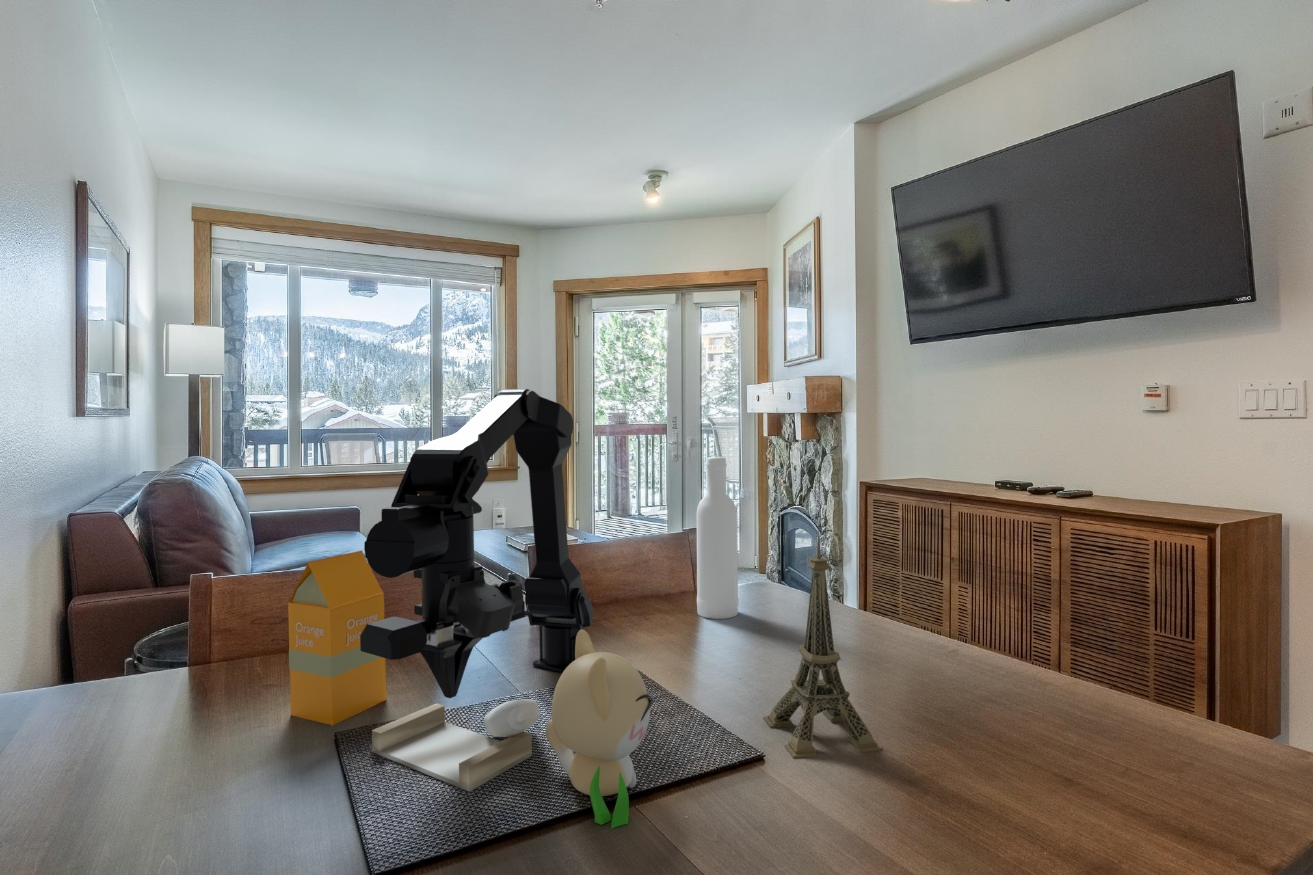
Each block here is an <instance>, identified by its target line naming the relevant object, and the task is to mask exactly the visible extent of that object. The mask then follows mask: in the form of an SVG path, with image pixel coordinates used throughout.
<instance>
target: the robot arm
mask: <svg viewBox="0 0 1313 875" xmlns="http://www.w3.org/2000/svg"><path fill="white" fill-rule="evenodd" d="M573 431H574V418H573V415H572V414H571V413H570V412H569V411H568V410H567V409H566V408H565V407H564V406H563V405H561V403H558V402H556V401H553V400H550V399H549V398H545V397H542V396H540V395H539V394H538V393H537V392H536V391H534V390H531V389H529V388H512V389H511V388H510V389H505V388H504V389H502V390H500V391H497V392H496V393H495V394H494V397H493V399H492V400H491V401H490V402H489V403H487V404H486V406H485V407H484V408H482V409H481V410H480V411H479V412H478V413H477V414H475V416H473V418H471V419H470V420H469V421H468V422H467V423H466V424H465V425H463V426H462V427H461V428H460V429H459V430H458V431H457V432H455V433H453V434H451V435H447V436H443V437H440V438H435V439H434V440H431V441H429V442H427V443H425V444H424V445H422V446H419V447H418V448H417V449H416V450H415V451H414V452H413V453H412V454H411V456H410V459H409V463H408V465H407V467H406V469H405V472H404V474H403V477H402V479H401V481H400V483H399V486H398V487H397V490H396V493H395V495H394V498H393V500H392V502H391V505H390V506H388V507H384V508H382V509H381V512H380V513H381V520H379V521H378V522H377V523H375V524H374V525H373V526H372V527H371V529H370V530H369V531H368V533H367V535H366V540H365V541H364V548H363V550H364V556H365V558H366V560H367V562H368V564H369V566H370V568H371V570H372V571H374V572H375V573H376V574H378V575H379V576H381V577H385V578H390V579H393V578H397V577H401V576H404V575H406V574H409V573H410V574H411V573H412V572H413V578H415V579H420V581H421V582H420V583H421V584H420V585H421V603H417V604H414V605H413V606H414V607H413V608H414V609H413V610H414V613H413V614H414V615H417V616H422V617H421V619H417V620H412V619H408V618H404V617H400V616H391V617H387V618H385V619H383V620H379V621H376V622H372V623H369V624H366V626H365V627H364V629H363V630H362V632H361V635H360V649H361V651H362V652H365V653H369V654H372V655H376V656H379V657H383V658H386V659H387V660H391V661H393V660H402V659H405V658H407V657H410V656H413V655H417V654H419V653H420V654H421V656H422V657H423V659H424V660H425V662H426V663H427V666H428V667H429V669H430V670H431V673H432V675H433V676H434V679H435V681H436V683H437V684H438V686H439V688H440V690H441V692H442V694H443V696H444V698H447V699H452V698H455V697H457V695H458V692H459V688H460V685H461V682H462V679H463V676H464V672H465V671H466V670H465V669H466V667H467V665H468V664H467V663H468V661H469V658H470V656H471V654H472V651H473V649H474V648H475V646H476V645H477V644H478V643H479V642H480V641H481V640H482V639H485V638H489V637H490V636H491V635H493V634H495V633H496V634H497V633H498V632H501V631H502V632H505V631H508V630H509V629H510V625H511V622H514V621H517V620H520V619H523V618H525V617H526V613H527V618H528V622H529V623H528V624H529V625H530V626H532V627H533V626H539V627H538V628H539V633H538V634H539V658H538V659H536V660H534V661H532V666H535V667H539V668H543V669H548V670H551V671H555V672H558V673H563V672H564V670H565V669H566V668H567V667H568V666H569V665H570V664H571V663H572V662H573V661H574V660H575V645H576V636H577V633H578V632H579V631H580V630H584V628H588V627H591V626H592V621H593V617H594V607H593V604H592V602H591V600H590V599H589V597H588V595H587V593H586V592H585V589H584V587H583V584H582V583H583V582H582V581H583V580H582V576H581V573H580V571H579V569H577V566H575V564H574V563H573V562H572V560H571V559H570V557H569V548H568V546H569V545H568V534H567V533H568V529H567V518H566V507H565V506H566V502H565V492H564V491H565V489H564V476H563V475H564V474H563V462H564V460H565V459H566V457H567V455H568V453H569V451H570V448H571V447H572V434H573ZM512 436H513V441H514V442H513V443H514V448H515V451H516V453H517V455H519V457H520V458H521V460H522V461H523V462H524V464H525V465H526V466H527V468H528V478H529V490H530V503H531V505H530V506H531V516H532V526H533V529H532V530H533V541H534V542H533V543H534V553H535V565H534V566H533V569H532V570H531V572H530V574H529V576H528V577H526V578H525V580H524V590H523V584H522V583H520V581H517V580H516V579H511V580H506V581H503V582H501V583H500V584H498V583H495V584H488V583H487V582H486V580H485V572H484V571H485V570H483V565H475V535H474V534H475V532H474V531H475V529H474V526H475V525H474V523H475V522H474V515H475V514H481V512H482V510H483V508H482V506H481V505H480V503H478V502H477V501H475V500H474V499H473V498H474V496H475V495H477V492H479V490H480V489H481V487H482V486H483V484H484V482H485V481H486V479H487V477H488V476H489V468H488V462H489V461H490V459H491V458H492V457H493V456H494V455H495V454H496V453H497V452H498V450H500V448H501V447H502V446H503V445H504V444H505V443H506V442H507V441H508V440H509V439H511V437H512ZM523 591H525V595H524V592H523ZM524 596H525V597H524ZM525 610H526V612H525Z"/></svg>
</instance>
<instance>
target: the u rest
mask: <svg viewBox="0 0 1313 875" xmlns="http://www.w3.org/2000/svg"><path fill="white" fill-rule="evenodd" d="M445 713H446V712H445V705H443V704H441V703H434V704H431V705H428V706H427V707H424V708H422V709H420V710H417V711H414V712H413V713H409V714H407V715H406V716H405V715H404V716H402V717H401V718H398V719H395V720H393V721H391V722H388V723H386V724H383V725H381V726H379V727H376V728H374V729H371V745H372V746H371V749H372V750H371V752H372V753H374V754H376V755H378V756H381V757H384V758H385V759H389V760H391V761H392V762H395V763H398V764H401V765H403V766H405V767H408V768H410V769H412V770H415V771H417V772H420V773H423V774H425V775H427V776H430V777H433V778H435V779H437V780H440V781H442V782H444V783H447V784H450V785H452V786H454V787H456V788H459V789H460V790H461V789H462V790H463V791H466V792H472V791H473V790H476V789H477V788H478V787H480V786H482V785H484V784H485V783H487V782H489V781H491V780H492V779H494V778H496V777H498V776H499V775H501V774H503V773H504V772H506V771H509V770H510V769H511V768H513V767H515V766H517V765H518V764H521V763H522V762H524V761H526V760H527V759H529V758H531V757H532V756H533V754H532V753H533V752H532V751H533V750H532V748H533V747H532V746H533V745H532V733H530V732H527V731H523V732H521V733H519V734H516V735H513V736H507V737H506V738H505V739H503V740H499V739H496V738H494V737H489V736H487V735H484V734H481V733H478V732H476V731H473V730H469V729H467V728H464V727H460V726H458V725H454V724H452V723H449V722H446V721H445V720H446V716H445V715H446V714H445Z"/></svg>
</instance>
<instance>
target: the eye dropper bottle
mask: <svg viewBox="0 0 1313 875" xmlns="http://www.w3.org/2000/svg"><path fill="white" fill-rule="evenodd" d="M540 717H541V712H540V708H539V706H538V703H537V701H536V700H534V699H531V698H524V699H523V698H522V699H514V700H509V701H506V702H503V703H501V704H499V705H497V706H496V707H494V708H493V709H491V710H490V711H489V712H488V713H486V715H485V716H484V718H483V724H484V727H485V730H486V732H487V734H488V735H490V736H491V737H495V738H496V737H498V738H508V737H510V736H513V735H516V734H519V733H521V732H523V731H524V732H526V731H527V730H528V729H530V728H532V727H533V726H534V725H535V724H536V723H537V722H538V721H539V720H540Z"/></svg>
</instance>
